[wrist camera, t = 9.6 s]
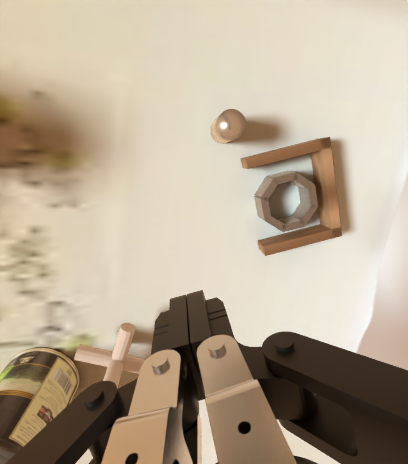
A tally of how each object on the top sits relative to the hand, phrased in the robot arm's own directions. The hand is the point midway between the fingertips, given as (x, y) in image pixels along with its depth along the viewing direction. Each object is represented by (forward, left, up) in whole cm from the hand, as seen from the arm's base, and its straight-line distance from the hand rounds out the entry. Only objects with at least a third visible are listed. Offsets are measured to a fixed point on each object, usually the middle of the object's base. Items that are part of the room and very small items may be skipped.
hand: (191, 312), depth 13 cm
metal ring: (+2, +13, -25) cm, 29 cm away
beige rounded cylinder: (-9, +7, -25) cm, 28 cm away
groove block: (+1, +13, -25) cm, 29 cm away
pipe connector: (+15, -13, -26) cm, 32 cm away
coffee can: (+18, -26, -26) cm, 41 cm away
